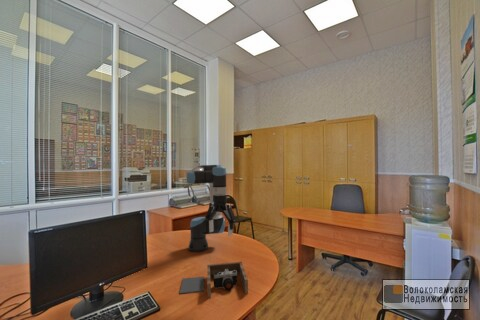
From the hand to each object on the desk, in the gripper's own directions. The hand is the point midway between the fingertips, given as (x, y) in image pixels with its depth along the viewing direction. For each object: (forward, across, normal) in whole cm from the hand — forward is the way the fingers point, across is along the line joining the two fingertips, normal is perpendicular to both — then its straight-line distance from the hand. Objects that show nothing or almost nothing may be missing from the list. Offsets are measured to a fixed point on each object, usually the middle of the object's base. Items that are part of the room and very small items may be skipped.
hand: (220, 233), depth 119 cm
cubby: (+27, +3, +1) cm, 27 cm away
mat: (+27, -12, -10) cm, 31 cm away
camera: (+27, +4, -1) cm, 28 cm away
